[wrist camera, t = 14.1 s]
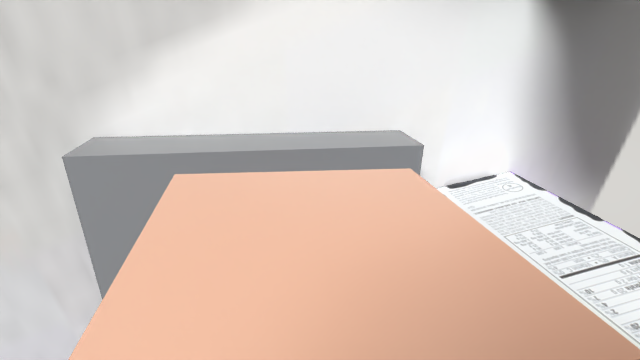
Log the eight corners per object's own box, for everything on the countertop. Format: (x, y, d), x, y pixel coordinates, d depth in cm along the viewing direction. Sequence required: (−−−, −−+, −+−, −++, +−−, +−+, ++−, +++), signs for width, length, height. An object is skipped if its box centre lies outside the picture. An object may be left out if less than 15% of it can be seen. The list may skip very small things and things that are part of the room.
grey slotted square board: (400, 130, 19) (423, 145, 17) (375, 337, 25) (390, 373, 23) (93, 137, 17) (62, 156, 14) (149, 368, 23) (134, 413, 20)
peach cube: (410, 168, 8) (649, 357, 3) (384, 335, 9) (509, 608, 5) (174, 173, 7) (9, 462, 2) (197, 359, 8) (136, 725, 4)
